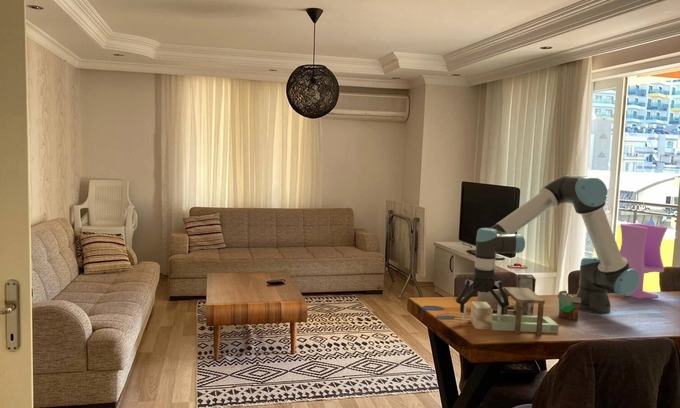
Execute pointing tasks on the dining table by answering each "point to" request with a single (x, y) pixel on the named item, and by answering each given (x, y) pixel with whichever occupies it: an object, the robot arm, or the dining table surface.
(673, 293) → the dining table surface
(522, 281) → the coffee box
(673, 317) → the dining table surface
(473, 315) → the beech block
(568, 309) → the food container
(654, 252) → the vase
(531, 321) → the pale green tray
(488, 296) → the planter
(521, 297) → the brown legged piece
